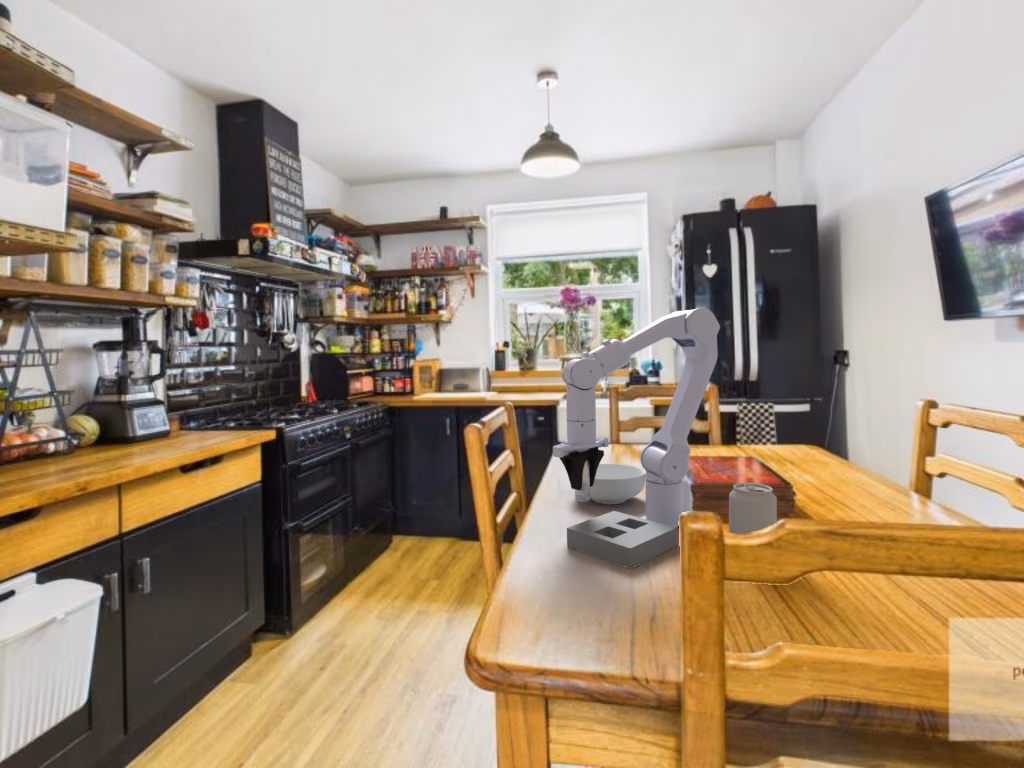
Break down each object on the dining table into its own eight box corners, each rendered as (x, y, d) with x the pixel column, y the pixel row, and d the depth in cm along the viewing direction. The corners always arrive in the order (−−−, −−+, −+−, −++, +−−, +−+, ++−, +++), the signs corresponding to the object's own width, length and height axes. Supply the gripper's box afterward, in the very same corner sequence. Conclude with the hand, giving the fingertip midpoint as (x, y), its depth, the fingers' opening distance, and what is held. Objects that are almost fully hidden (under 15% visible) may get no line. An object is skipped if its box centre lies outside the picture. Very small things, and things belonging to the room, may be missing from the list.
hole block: (614, 527, 107) (614, 510, 107) (676, 546, 97) (676, 527, 97) (567, 546, 98) (566, 527, 98) (630, 569, 88) (630, 548, 87)
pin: (581, 496, 109) (581, 457, 108) (593, 499, 106) (592, 459, 106) (571, 499, 107) (571, 460, 106) (583, 502, 104) (582, 462, 104)
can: (748, 565, 88) (749, 494, 87) (719, 549, 95) (720, 482, 94) (786, 559, 90) (787, 489, 89) (754, 544, 97) (755, 479, 96)
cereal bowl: (640, 490, 134) (640, 462, 134) (650, 510, 118) (650, 479, 117) (572, 489, 136) (572, 462, 136) (573, 510, 120) (573, 479, 119)
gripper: (589, 414, 113) (590, 477, 114) (540, 422, 104) (542, 490, 105) (616, 417, 108) (617, 483, 109) (567, 425, 98) (569, 497, 99)
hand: (582, 487), depth 106 cm, fingers closed on pin, 3 cm apart
